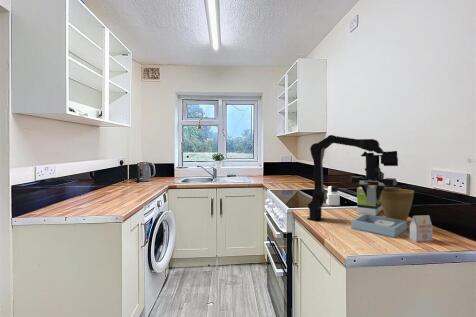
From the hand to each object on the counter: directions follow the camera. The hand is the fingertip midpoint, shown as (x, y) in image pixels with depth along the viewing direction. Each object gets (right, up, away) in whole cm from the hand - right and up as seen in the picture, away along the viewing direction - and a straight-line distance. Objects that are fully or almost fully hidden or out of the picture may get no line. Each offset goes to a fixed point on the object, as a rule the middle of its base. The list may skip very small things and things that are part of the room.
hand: (373, 199), depth 125 cm
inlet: (+3, -13, -5) cm, 14 cm away
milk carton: (+10, -14, -18) cm, 25 cm away
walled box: (+1, -13, -3) cm, 14 cm away
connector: (0, -2, 0) cm, 2 cm away
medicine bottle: (-1, -11, +50) cm, 52 cm away
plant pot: (+15, -13, +8) cm, 21 cm away
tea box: (+13, -12, +29) cm, 34 cm away
